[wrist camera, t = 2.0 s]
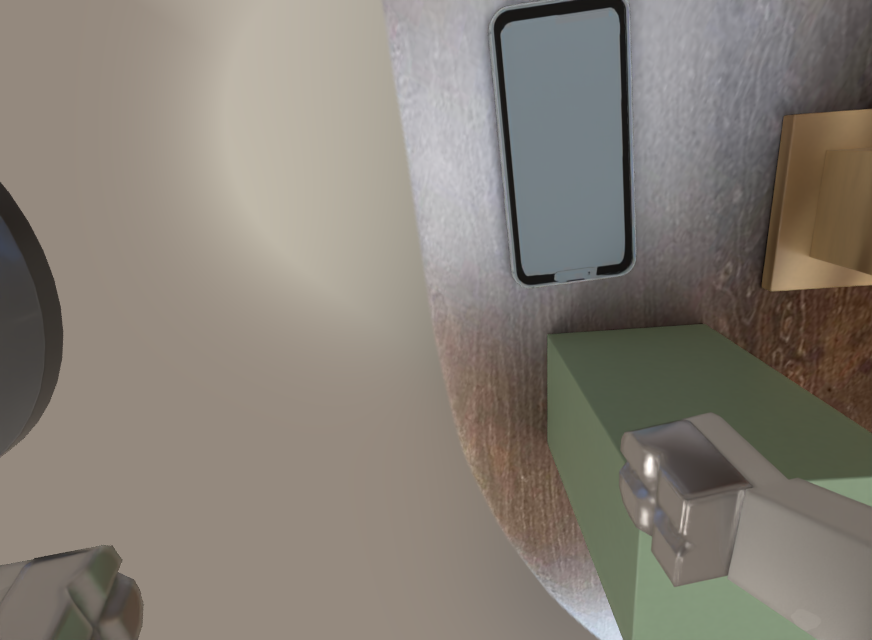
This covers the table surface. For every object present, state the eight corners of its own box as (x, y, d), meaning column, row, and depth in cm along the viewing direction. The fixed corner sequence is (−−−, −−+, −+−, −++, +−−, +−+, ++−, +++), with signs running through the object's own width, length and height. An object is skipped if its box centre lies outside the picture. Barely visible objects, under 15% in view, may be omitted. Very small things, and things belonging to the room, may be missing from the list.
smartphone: (630, -14, 27) (637, 274, 31) (624, -8, 28) (632, 270, 32) (486, 9, 27) (513, 290, 31) (484, 13, 28) (511, 287, 32)
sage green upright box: (547, 443, 36) (630, 661, 21) (547, 333, 33) (641, 490, 18) (698, 433, 36) (894, 646, 21) (709, 322, 33) (943, 472, 18)
